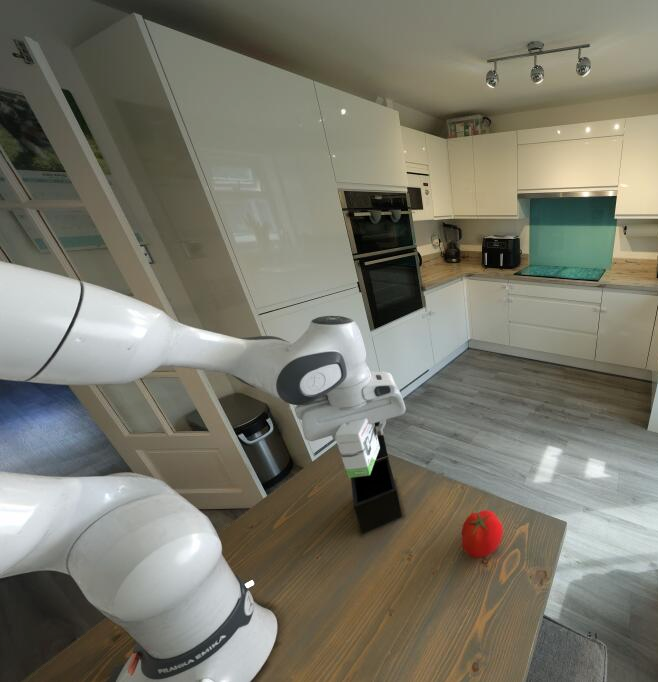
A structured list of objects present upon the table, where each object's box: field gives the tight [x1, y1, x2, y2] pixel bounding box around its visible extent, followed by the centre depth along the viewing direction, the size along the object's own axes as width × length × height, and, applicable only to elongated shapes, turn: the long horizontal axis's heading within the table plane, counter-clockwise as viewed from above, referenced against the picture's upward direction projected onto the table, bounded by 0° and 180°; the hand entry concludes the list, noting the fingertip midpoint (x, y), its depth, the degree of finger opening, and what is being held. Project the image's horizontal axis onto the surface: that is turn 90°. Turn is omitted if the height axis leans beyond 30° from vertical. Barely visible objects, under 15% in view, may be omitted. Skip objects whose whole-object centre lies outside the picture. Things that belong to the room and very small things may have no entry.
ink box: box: [335, 418, 380, 479], centre depth 69 cm, size 9×5×12 cm, turn 6°
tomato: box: [461, 509, 504, 559], centre depth 72 cm, size 9×10×8 cm
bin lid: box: [374, 422, 389, 461], centre depth 83 cm, size 13×10×5 cm
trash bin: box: [350, 456, 403, 534], centre depth 81 cm, size 13×10×10 cm
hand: (363, 439), depth 71 cm, fingers closed on ink box, 6 cm apart
